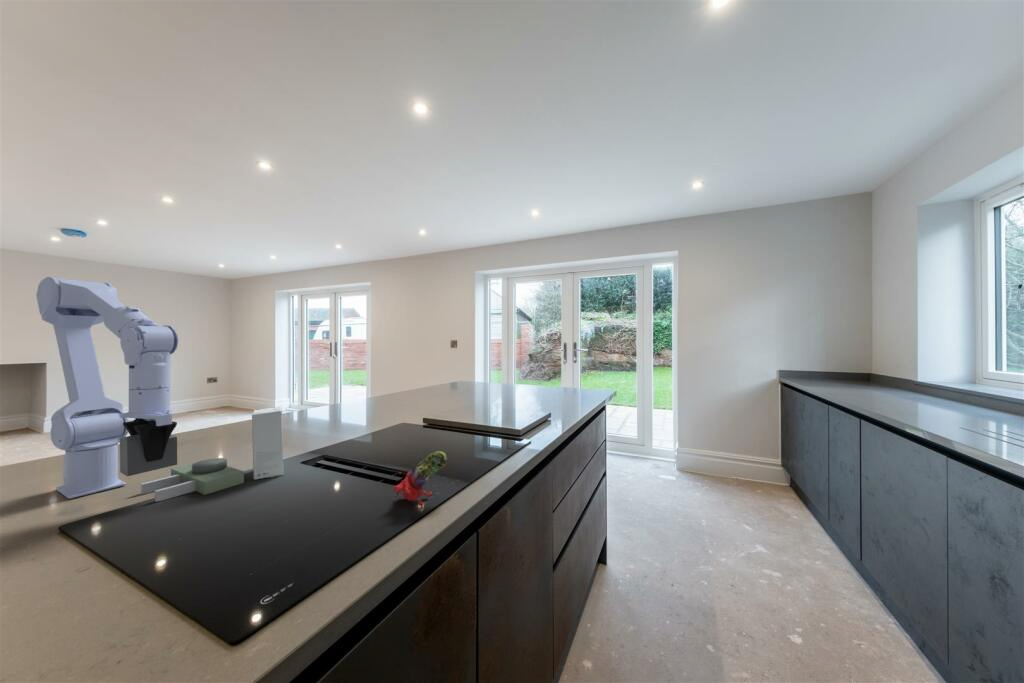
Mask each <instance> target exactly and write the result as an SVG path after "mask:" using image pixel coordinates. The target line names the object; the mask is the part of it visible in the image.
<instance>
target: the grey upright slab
mask: <svg viewBox="0 0 1024 683" xmlns="http://www.w3.org/2000/svg"><path fill="white" fill-rule="evenodd" d="M177 465H178V436H175V435H172V434H171V435H170V437H169V439H168V442H167V445H166V449H165V452H164V455H163V458H162V459H160V460H155V461H150V462H147V461H146V458H145V455H144V450H143V444H142V441H141V438H140V436H139V435H133V436H130V435H129V436H127V435H126V436H125V437H121V438H120V442H119V473H121V474H122V475H124V476H126V477H131V476H134V475H139V474H142V473H143V474H144V473H147V472H151V471H156V470H160V469H165V468H169V467H173V466H177Z"/></svg>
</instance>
